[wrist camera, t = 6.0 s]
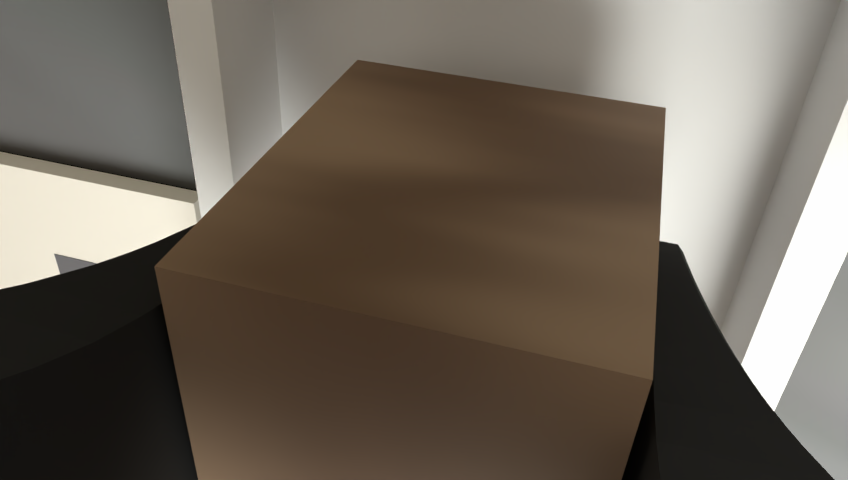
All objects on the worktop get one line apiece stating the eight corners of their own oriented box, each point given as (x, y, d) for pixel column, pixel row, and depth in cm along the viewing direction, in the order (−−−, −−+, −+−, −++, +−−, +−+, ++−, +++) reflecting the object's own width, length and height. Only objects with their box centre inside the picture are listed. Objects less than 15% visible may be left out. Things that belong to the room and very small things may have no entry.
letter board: (204, 193, 17) (193, 204, 17) (261, 573, 27) (254, 587, 26) (-316, 87, 21) (-336, 95, 20) (-105, 460, 30) (-115, 470, 29)
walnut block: (665, 107, 11) (651, 379, 7) (605, 347, 14) (565, 657, 10) (357, 60, 12) (154, 266, 8) (358, 292, 15) (211, 548, 11)
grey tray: (932, -99, 11) (990, -58, 9) (720, 424, 17) (725, 516, 15) (228, -164, 13) (145, -144, 11) (274, 319, 19) (227, 388, 17)
